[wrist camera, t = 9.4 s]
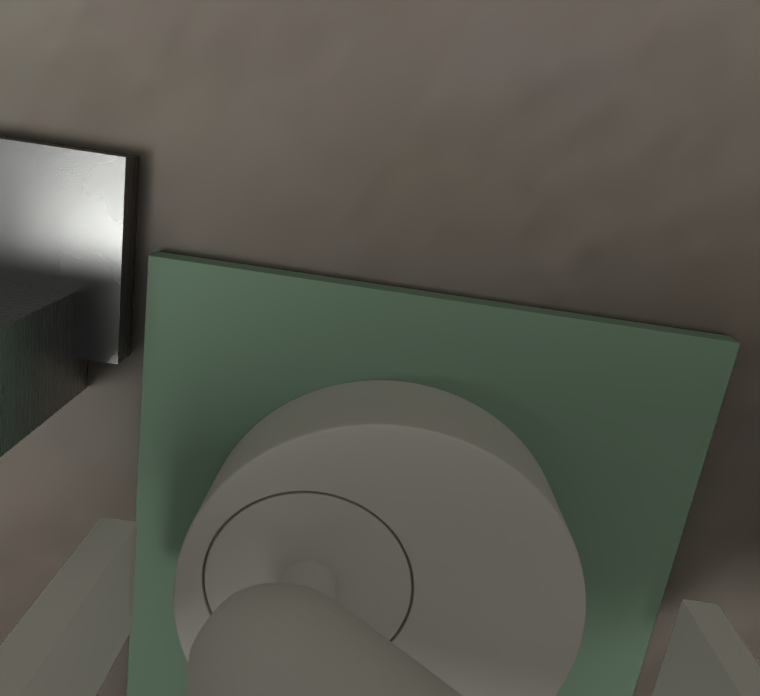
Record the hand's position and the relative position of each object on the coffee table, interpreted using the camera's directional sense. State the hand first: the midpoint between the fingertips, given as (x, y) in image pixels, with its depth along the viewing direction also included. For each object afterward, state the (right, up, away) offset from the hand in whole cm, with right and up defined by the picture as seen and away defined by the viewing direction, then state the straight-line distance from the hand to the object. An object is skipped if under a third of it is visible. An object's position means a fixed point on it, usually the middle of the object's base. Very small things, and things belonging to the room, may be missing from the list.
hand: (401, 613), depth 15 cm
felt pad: (0, +1, +3) cm, 3 cm away
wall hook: (0, +1, +2) cm, 2 cm away
